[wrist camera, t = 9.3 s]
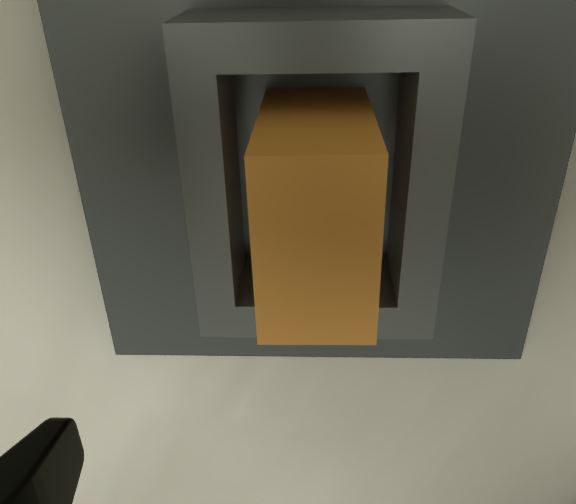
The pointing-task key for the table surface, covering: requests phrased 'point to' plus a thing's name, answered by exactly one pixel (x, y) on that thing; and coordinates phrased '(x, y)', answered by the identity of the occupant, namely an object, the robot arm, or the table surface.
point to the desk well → (395, 131)
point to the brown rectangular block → (316, 216)
